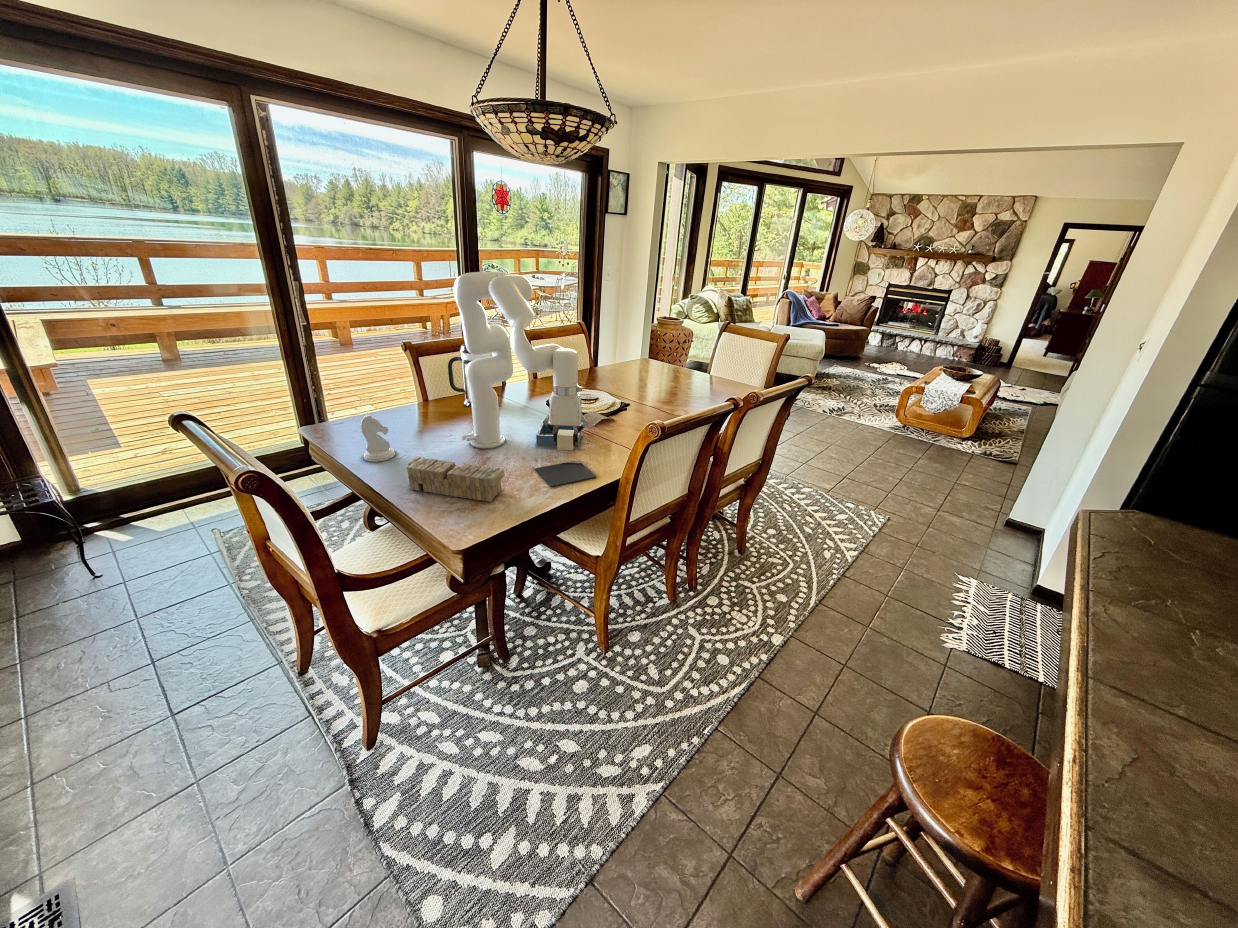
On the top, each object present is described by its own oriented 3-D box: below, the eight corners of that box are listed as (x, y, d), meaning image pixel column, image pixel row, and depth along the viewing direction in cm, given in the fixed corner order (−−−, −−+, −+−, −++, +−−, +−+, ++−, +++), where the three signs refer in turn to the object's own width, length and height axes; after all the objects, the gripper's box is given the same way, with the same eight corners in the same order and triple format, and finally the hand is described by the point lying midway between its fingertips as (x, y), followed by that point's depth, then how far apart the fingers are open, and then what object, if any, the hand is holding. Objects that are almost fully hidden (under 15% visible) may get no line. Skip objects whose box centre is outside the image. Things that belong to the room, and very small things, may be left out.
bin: (536, 447, 179) (536, 435, 177) (542, 434, 191) (541, 422, 189) (578, 449, 179) (578, 437, 177) (581, 435, 191) (581, 424, 189)
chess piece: (397, 458, 165) (390, 417, 159) (365, 463, 160) (357, 421, 154) (392, 448, 173) (385, 408, 166) (362, 452, 168) (353, 412, 161)
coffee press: (485, 395, 232) (480, 332, 219) (501, 404, 222) (497, 338, 209) (450, 401, 221) (443, 335, 208) (466, 411, 211) (460, 342, 198)
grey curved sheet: (592, 428, 199) (592, 422, 198) (575, 422, 205) (575, 416, 204) (615, 420, 209) (616, 415, 208) (599, 414, 215) (599, 409, 214)
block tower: (406, 491, 147) (494, 503, 141) (401, 466, 143) (491, 477, 137) (421, 480, 154) (506, 490, 148) (417, 456, 150) (503, 466, 144)
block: (557, 449, 154) (557, 435, 152) (559, 443, 159) (558, 429, 157) (572, 450, 154) (572, 435, 152) (574, 444, 159) (574, 430, 157)
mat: (551, 487, 152) (551, 486, 152) (535, 469, 163) (535, 468, 162) (596, 477, 159) (596, 476, 159) (578, 461, 170) (578, 460, 170)
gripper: (593, 387, 152) (592, 440, 160) (539, 385, 152) (541, 438, 159) (592, 394, 145) (591, 449, 153) (536, 392, 145) (537, 447, 153)
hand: (565, 443), depth 156 cm, fingers closed on block, 5 cm apart
